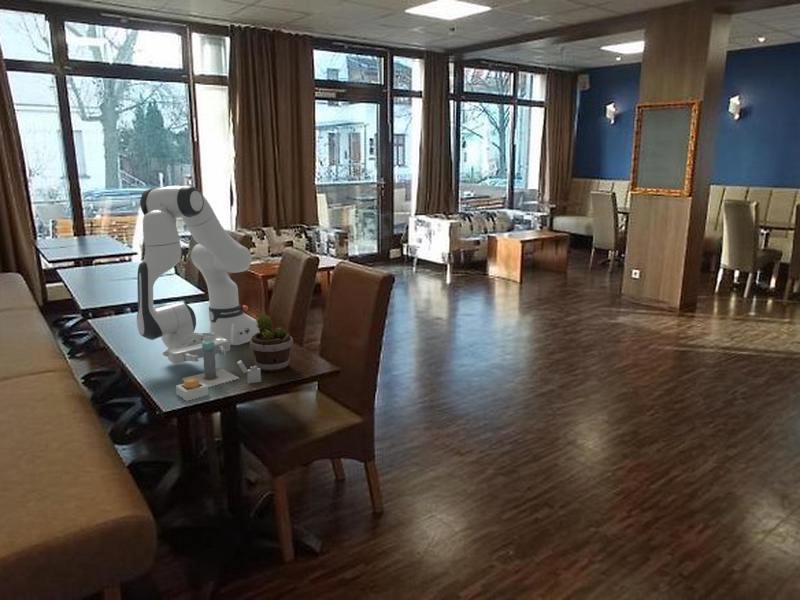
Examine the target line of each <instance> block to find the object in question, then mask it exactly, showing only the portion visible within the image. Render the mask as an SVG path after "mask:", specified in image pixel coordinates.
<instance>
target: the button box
mask: <svg viewBox="0 0 800 600" xmlns="http://www.w3.org/2000/svg"><path fill="white" fill-rule="evenodd" d="M199 385H200V386H199V387H197V388H194V389H190V390H187V389H185V388H184V383H180V384H177V385H175V391H176V393H175V394H176V395H177V396H178V395H179V396H180V398H181V397H182V398H183V400H184V401H185V400H186V402H189V400H190V401H192V399H193V400H196V398H197V399H200V398H203V397H202V396H204V397H206V396H205V395H207V396H209V388H208V386H207V385H206V384H204V383H202V382H200V381H199ZM179 396H178V397H179ZM199 397H200V398H199ZM182 398H181V399H182Z"/></svg>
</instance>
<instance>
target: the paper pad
mask: <svg viewBox="0 0 800 600" xmlns="http://www.w3.org/2000/svg"><path fill="white" fill-rule="evenodd" d="M190 378H197V379H199V381H200V382H202V383H204V384H206V385H207V386H208V387H210V388H212V386H213V387H216V386H215V385H217V386H219V385H218V384H220V385H222V384H221V383H224V384H226V383H225V382H228V383H230V382H229V381H231V382H233V381H232V380H235V381H237V380H236V379H238V380H240V377H239V376H237V375H235V374H233V373H232V372H230V371H228V370H226V369H223V368H222V367H221V368H218V369H217V368H216V378H215V379H213V380H206V379H205V372H201V373H197V374H195V375H190V376H186V377H182V379H181V380H182V381H183V380H184V381H185V380H186V379H190ZM184 381H183V382H184Z"/></svg>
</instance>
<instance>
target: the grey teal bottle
mask: <svg viewBox="0 0 800 600" xmlns="http://www.w3.org/2000/svg"><path fill="white" fill-rule="evenodd" d="M202 350H203V357H202V358H203V369H204V372H203V373H205V379H206V380H213V379H215V378H216V370H217V364H216V354H215V345H214V342H213V341H206V342H203V343H202Z"/></svg>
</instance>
